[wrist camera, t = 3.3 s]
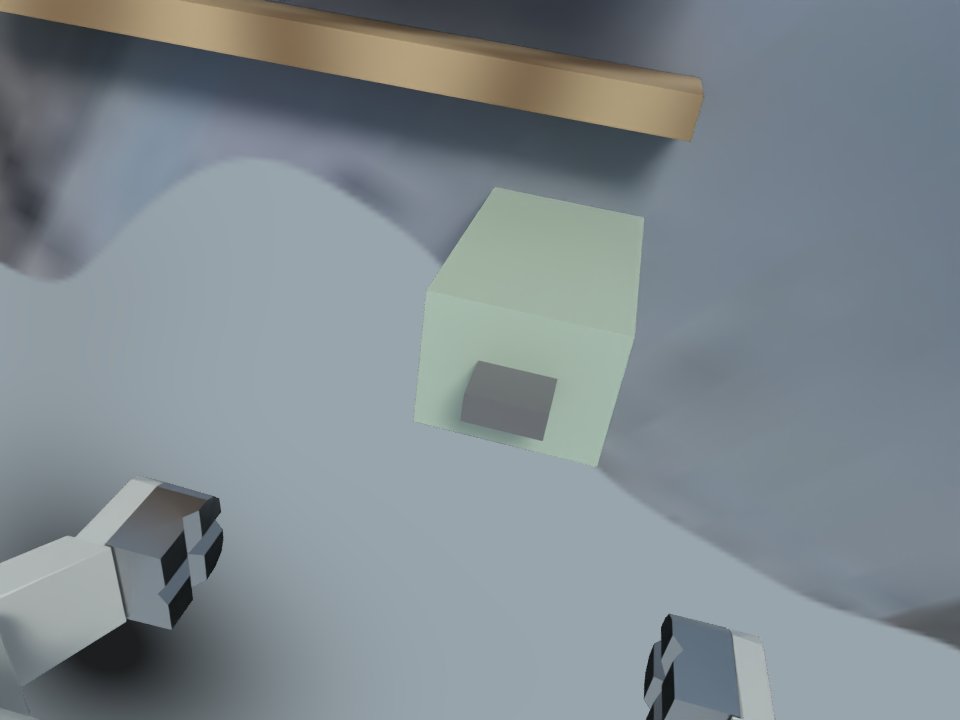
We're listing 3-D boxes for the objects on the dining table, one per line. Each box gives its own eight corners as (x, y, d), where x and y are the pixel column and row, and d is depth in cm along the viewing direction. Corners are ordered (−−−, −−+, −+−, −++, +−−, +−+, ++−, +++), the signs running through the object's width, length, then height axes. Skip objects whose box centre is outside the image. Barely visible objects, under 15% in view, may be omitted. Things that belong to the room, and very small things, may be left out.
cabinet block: (644, 217, 23) (631, 371, 15) (615, 323, 25) (591, 506, 17) (494, 186, 23) (406, 319, 16) (479, 293, 26) (395, 456, 18)
